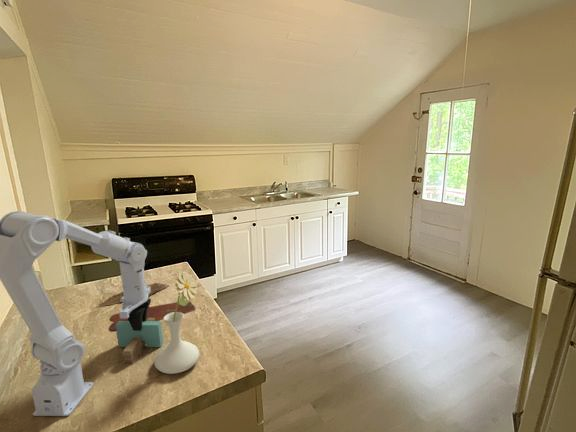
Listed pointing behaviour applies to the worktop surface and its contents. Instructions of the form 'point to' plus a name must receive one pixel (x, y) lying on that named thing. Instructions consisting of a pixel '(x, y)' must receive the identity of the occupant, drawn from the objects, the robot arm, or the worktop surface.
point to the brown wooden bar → (134, 348)
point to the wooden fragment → (117, 297)
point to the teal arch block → (140, 333)
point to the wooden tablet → (155, 312)
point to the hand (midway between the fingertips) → (139, 327)
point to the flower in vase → (178, 332)
